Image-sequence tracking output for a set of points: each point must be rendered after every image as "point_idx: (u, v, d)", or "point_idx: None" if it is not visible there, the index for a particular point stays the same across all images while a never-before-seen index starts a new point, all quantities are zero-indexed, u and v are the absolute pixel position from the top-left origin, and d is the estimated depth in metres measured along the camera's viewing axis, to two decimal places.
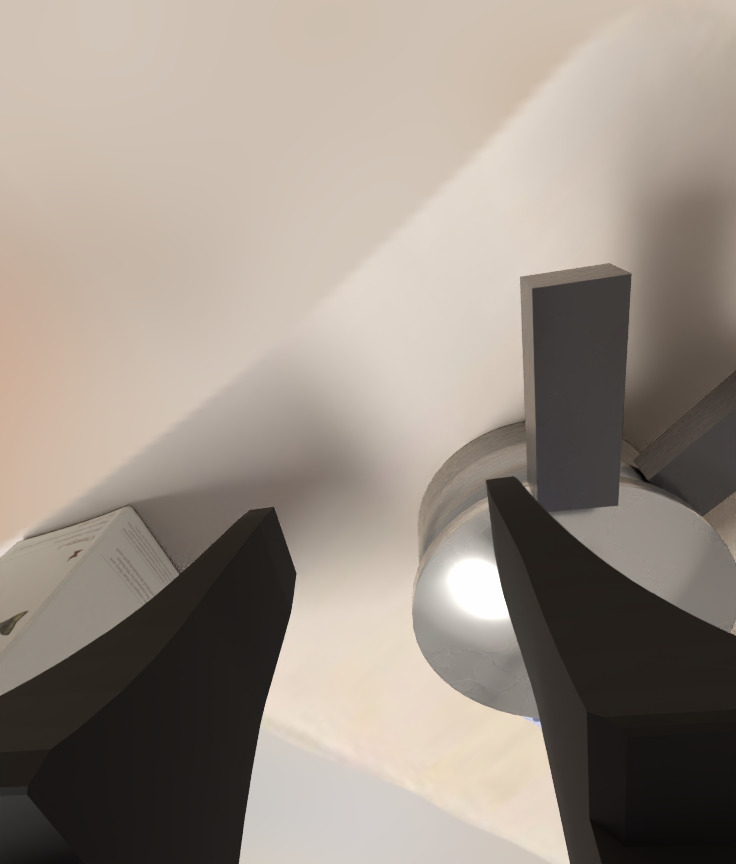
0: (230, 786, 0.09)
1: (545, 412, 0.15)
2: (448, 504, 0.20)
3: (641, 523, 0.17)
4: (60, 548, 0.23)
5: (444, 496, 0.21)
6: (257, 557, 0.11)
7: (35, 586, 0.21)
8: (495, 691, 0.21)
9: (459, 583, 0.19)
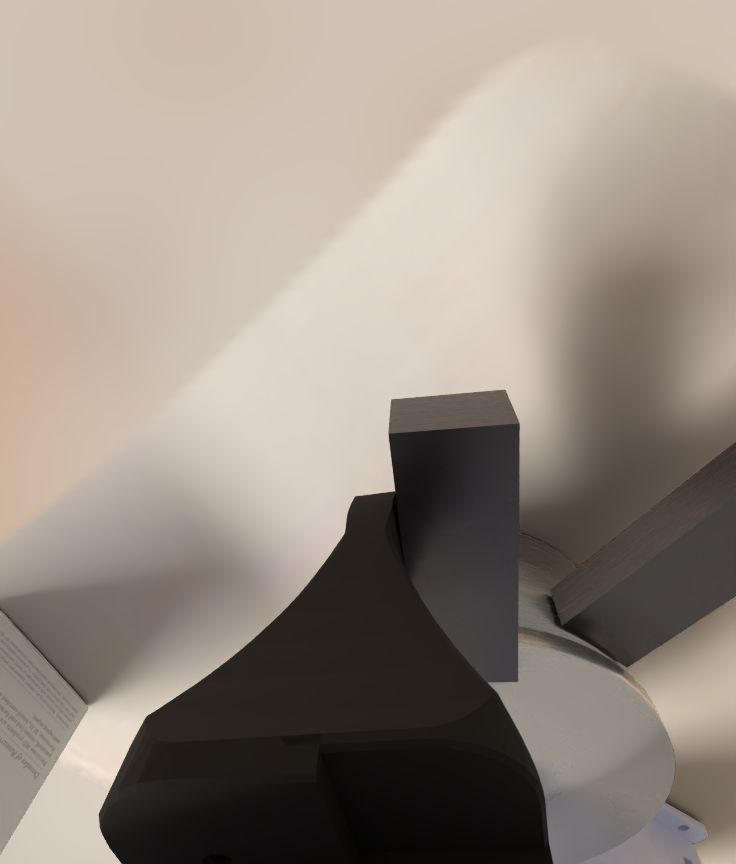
0: None
1: (418, 576, 0.11)
2: None
3: (553, 690, 0.14)
4: None
5: None
6: None
7: None
8: None
9: None
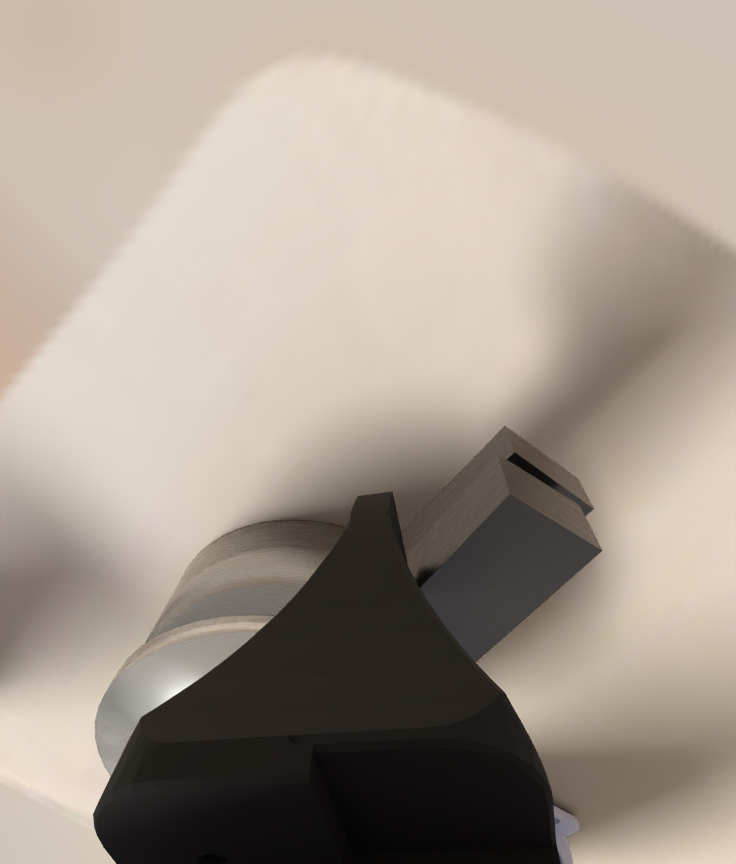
0: None
1: None
2: (154, 627, 0.17)
3: None
4: None
5: (162, 612, 0.18)
6: None
7: None
8: None
9: (192, 683, 0.15)
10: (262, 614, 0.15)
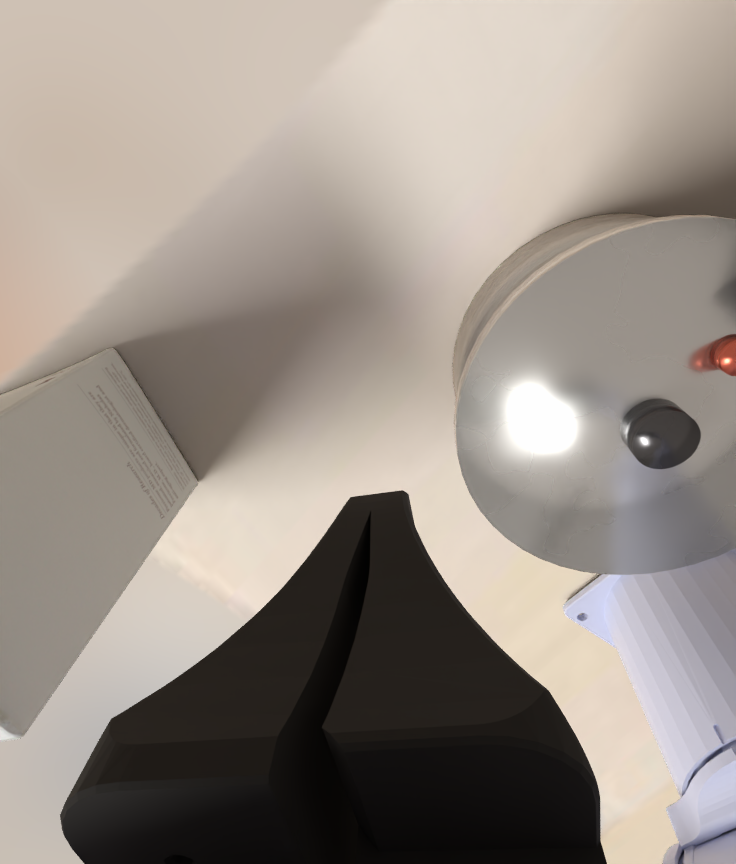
0: None
1: None
2: (498, 299, 0.17)
3: None
4: (29, 384, 0.20)
5: (491, 298, 0.17)
6: None
7: None
8: (492, 468, 0.17)
9: (605, 295, 0.14)
10: None
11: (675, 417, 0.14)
